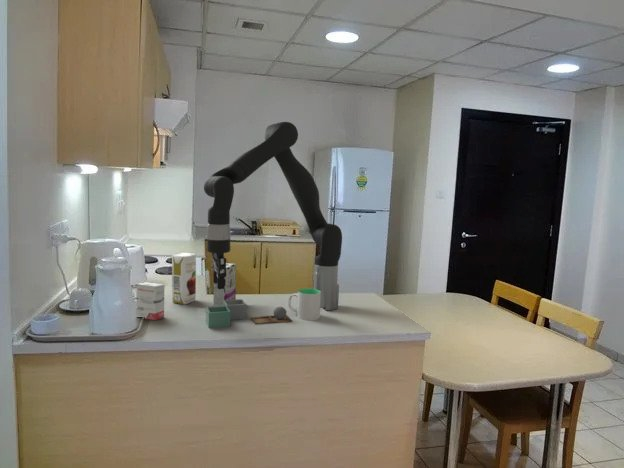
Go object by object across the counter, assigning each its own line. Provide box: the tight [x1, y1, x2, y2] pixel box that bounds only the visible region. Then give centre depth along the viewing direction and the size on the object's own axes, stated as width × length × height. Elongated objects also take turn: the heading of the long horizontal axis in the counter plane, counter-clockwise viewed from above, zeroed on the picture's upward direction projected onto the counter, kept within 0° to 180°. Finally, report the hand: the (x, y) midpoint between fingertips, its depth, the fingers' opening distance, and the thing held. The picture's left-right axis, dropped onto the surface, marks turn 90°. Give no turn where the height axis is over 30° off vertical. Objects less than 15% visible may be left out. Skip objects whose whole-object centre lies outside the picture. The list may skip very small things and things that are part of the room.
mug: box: [287, 288, 321, 321], centre depth 172 cm, size 12×8×10 cm
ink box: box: [135, 281, 166, 321], centre depth 167 cm, size 9×5×12 cm, turn 71°
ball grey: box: [272, 306, 287, 320], centre depth 167 cm, size 4×4×4 cm
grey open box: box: [223, 298, 247, 320], centre depth 169 cm, size 7×7×6 cm
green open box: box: [205, 306, 231, 329], centre depth 159 cm, size 7×7×6 cm
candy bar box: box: [213, 262, 237, 307], centre depth 181 cm, size 11×5×16 cm, turn 168°
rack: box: [250, 314, 293, 326], centre depth 166 cm, size 13×7×2 cm, turn 110°
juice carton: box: [171, 252, 197, 305], centre depth 187 cm, size 8×9×19 cm
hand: (218, 285), depth 158 cm, fingers open, 8 cm apart
